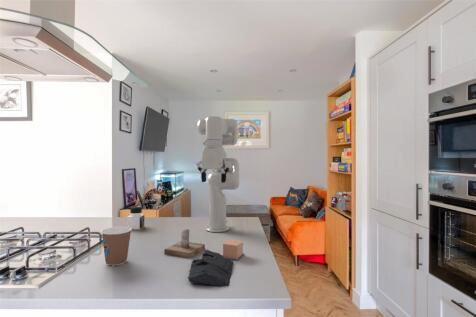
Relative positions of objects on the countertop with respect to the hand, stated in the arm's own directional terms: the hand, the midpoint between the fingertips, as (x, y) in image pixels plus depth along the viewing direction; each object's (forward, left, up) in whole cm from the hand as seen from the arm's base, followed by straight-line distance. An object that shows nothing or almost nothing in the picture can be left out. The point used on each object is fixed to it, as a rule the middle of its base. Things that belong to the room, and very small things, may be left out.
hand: (213, 182), depth 121 cm
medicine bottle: (-12, -54, -28) cm, 62 cm away
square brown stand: (+12, -7, -28) cm, 32 cm away
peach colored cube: (+10, +14, -28) cm, 33 cm away
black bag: (+27, +12, -29) cm, 41 cm away
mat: (+10, +13, -28) cm, 33 cm away
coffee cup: (+32, -24, -28) cm, 49 cm away
